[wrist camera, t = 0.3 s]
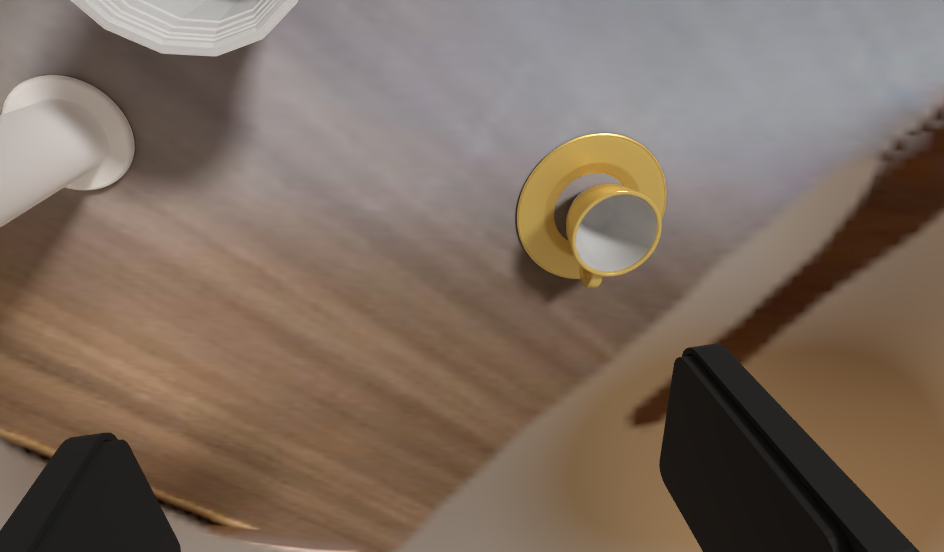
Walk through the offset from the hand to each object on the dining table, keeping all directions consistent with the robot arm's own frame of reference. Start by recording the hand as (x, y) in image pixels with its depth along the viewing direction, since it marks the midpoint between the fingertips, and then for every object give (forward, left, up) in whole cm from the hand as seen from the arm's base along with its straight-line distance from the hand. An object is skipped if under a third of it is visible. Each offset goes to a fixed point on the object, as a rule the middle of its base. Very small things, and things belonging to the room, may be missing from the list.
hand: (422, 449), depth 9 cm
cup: (+8, +15, -31) cm, 35 cm away
